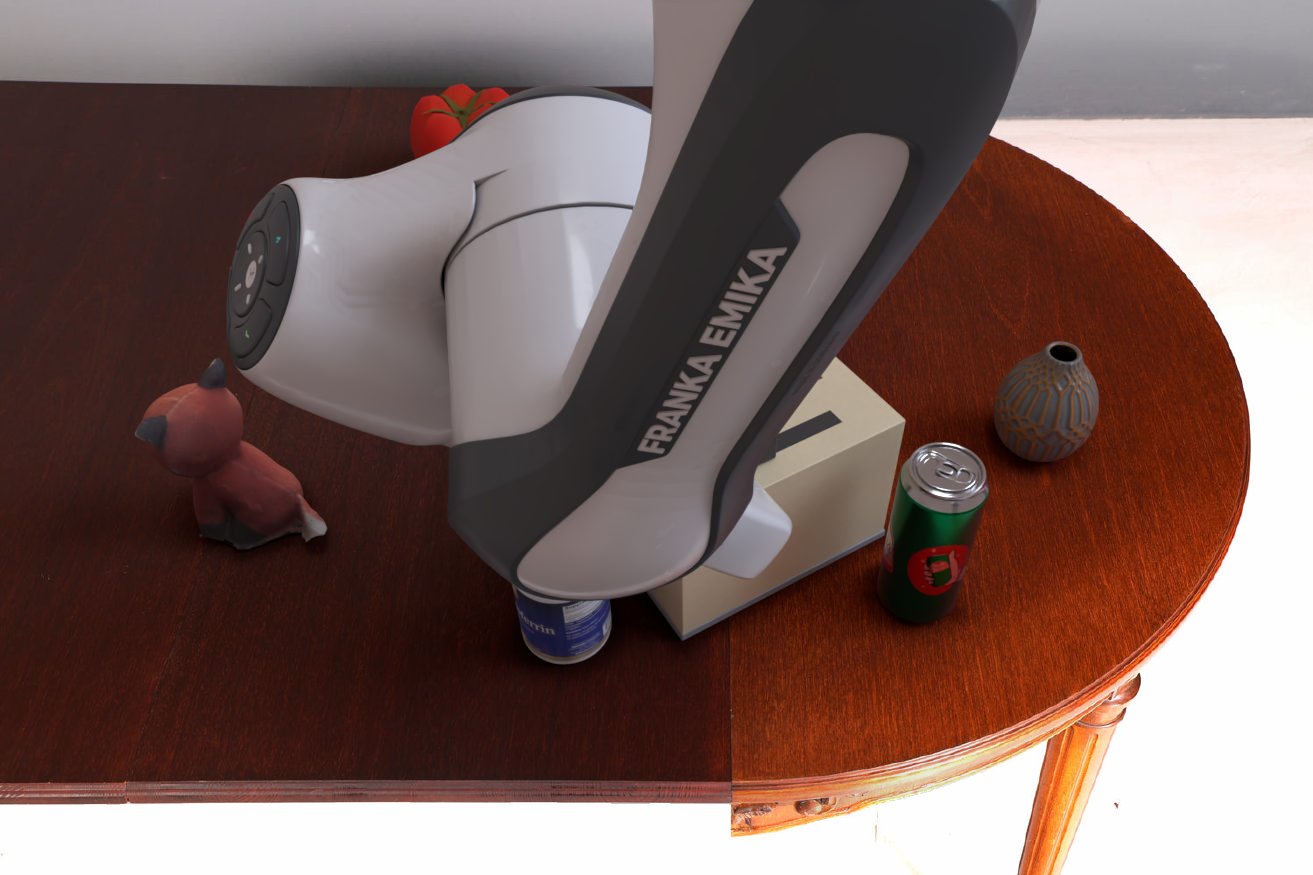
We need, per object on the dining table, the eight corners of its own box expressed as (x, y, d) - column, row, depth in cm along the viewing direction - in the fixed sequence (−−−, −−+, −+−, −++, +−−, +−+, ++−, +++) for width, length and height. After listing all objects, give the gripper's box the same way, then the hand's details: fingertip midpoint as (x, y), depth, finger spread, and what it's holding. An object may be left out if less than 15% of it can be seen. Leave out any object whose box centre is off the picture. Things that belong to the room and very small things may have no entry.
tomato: (540, 153, 107) (531, 69, 101) (512, 219, 99) (500, 132, 93) (440, 147, 109) (425, 64, 102) (404, 212, 100) (385, 126, 94)
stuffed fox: (308, 584, 69) (254, 460, 61) (165, 546, 72) (94, 422, 63) (364, 502, 74) (321, 376, 66) (228, 469, 77) (170, 344, 68)
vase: (1103, 453, 76) (1140, 362, 70) (1032, 490, 74) (1064, 400, 67) (1034, 398, 80) (1063, 308, 74) (965, 431, 78) (989, 341, 72)
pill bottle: (504, 625, 67) (482, 524, 60) (576, 577, 69) (563, 476, 62) (557, 684, 64) (541, 586, 56) (631, 633, 66) (623, 532, 59)
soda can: (892, 553, 70) (921, 425, 61) (966, 583, 68) (1005, 456, 60) (863, 607, 67) (888, 481, 58) (938, 640, 65) (976, 515, 57)
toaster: (884, 535, 71) (908, 419, 63) (682, 641, 65) (680, 528, 58) (788, 436, 78) (799, 320, 70) (597, 524, 72) (585, 409, 64)
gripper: (716, 476, 42) (875, 531, 53) (503, 232, 55) (665, 316, 65) (625, 589, 44) (797, 621, 54) (438, 327, 56) (607, 394, 67)
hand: (724, 453), depth 60 cm, fingers closed, pressing on slider
